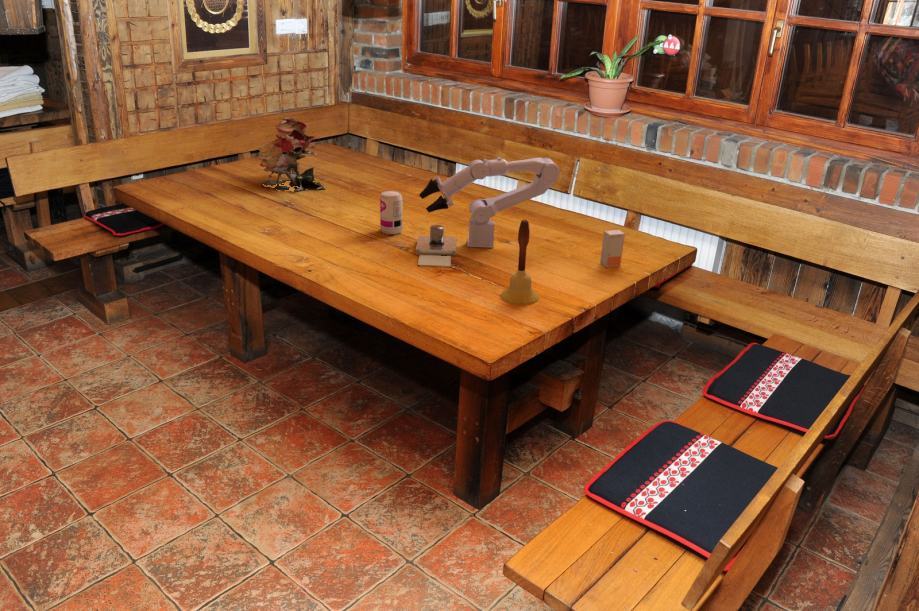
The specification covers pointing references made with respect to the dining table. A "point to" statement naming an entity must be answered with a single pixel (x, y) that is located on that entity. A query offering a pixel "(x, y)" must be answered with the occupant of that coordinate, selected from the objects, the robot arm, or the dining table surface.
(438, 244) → the grey metal cylinder
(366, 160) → the dining table surface
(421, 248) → the housing plate
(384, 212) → the supplement can
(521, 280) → the handbell
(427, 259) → the pad
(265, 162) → the rose bouquet
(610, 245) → the skincare box
